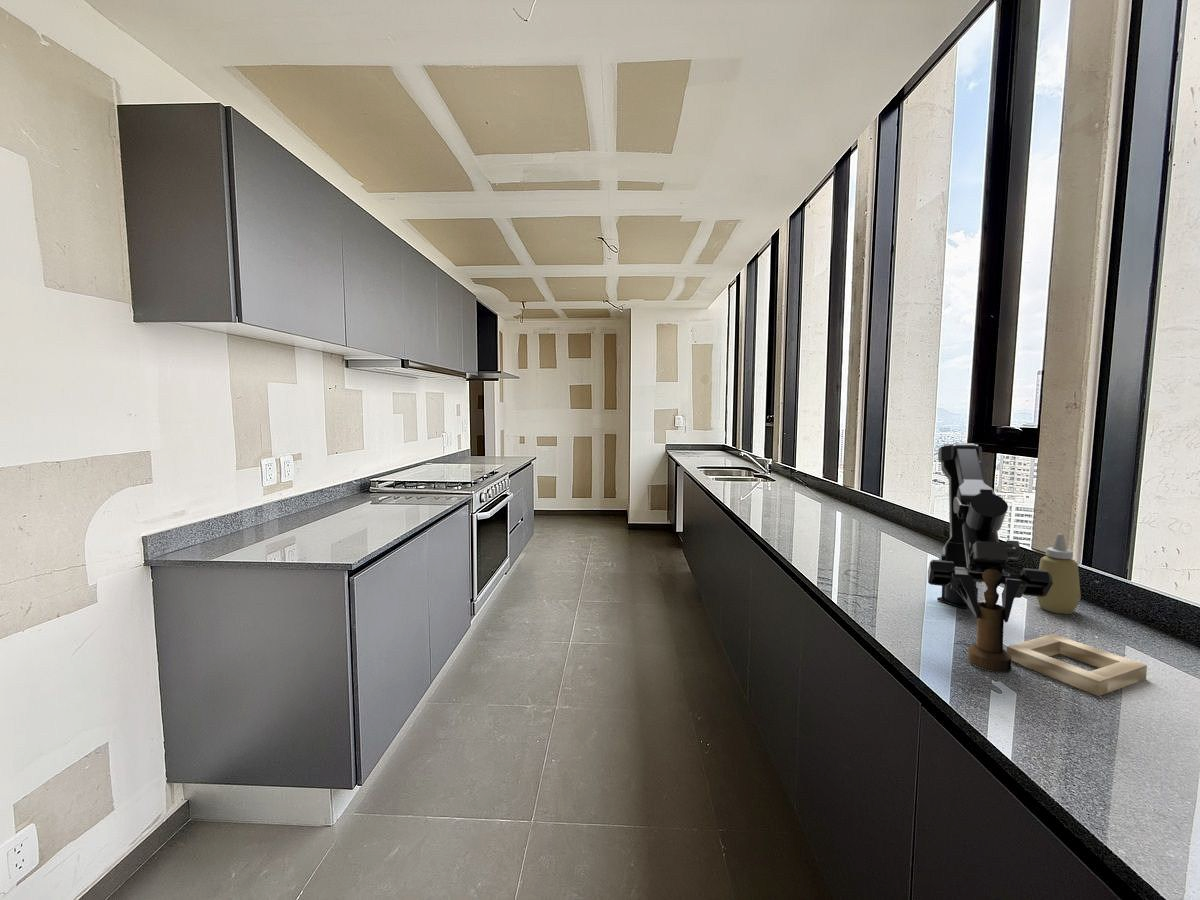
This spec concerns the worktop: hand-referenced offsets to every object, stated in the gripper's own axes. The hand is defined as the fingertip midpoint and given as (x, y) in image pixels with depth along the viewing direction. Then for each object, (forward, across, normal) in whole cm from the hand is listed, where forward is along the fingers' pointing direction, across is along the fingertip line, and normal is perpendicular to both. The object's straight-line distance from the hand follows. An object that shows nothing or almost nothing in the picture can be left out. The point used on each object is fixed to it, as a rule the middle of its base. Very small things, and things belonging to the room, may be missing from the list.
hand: (991, 619), depth 95 cm
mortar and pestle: (+6, 0, +8) cm, 9 cm away
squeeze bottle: (-21, +20, +34) cm, 45 cm away
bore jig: (+2, +13, +10) cm, 17 cm away
